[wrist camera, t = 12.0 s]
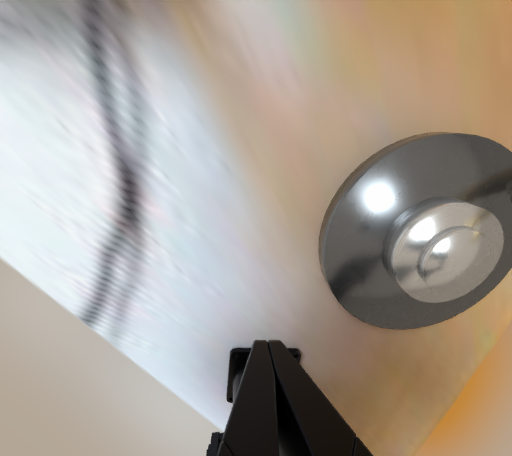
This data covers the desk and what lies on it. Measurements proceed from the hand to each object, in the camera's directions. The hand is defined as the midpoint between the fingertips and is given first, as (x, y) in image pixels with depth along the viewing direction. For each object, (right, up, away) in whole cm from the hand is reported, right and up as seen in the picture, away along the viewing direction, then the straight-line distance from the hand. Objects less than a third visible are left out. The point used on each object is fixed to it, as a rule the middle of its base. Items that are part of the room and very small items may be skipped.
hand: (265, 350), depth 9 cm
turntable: (+13, +4, +12) cm, 18 cm away
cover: (+12, +3, +11) cm, 16 cm away
